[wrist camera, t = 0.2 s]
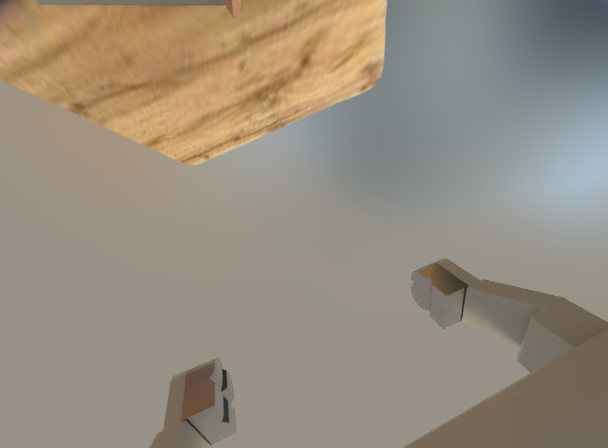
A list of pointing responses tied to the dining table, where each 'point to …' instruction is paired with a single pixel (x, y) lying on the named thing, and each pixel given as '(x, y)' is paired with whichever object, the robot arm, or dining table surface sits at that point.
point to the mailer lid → (152, 3)
